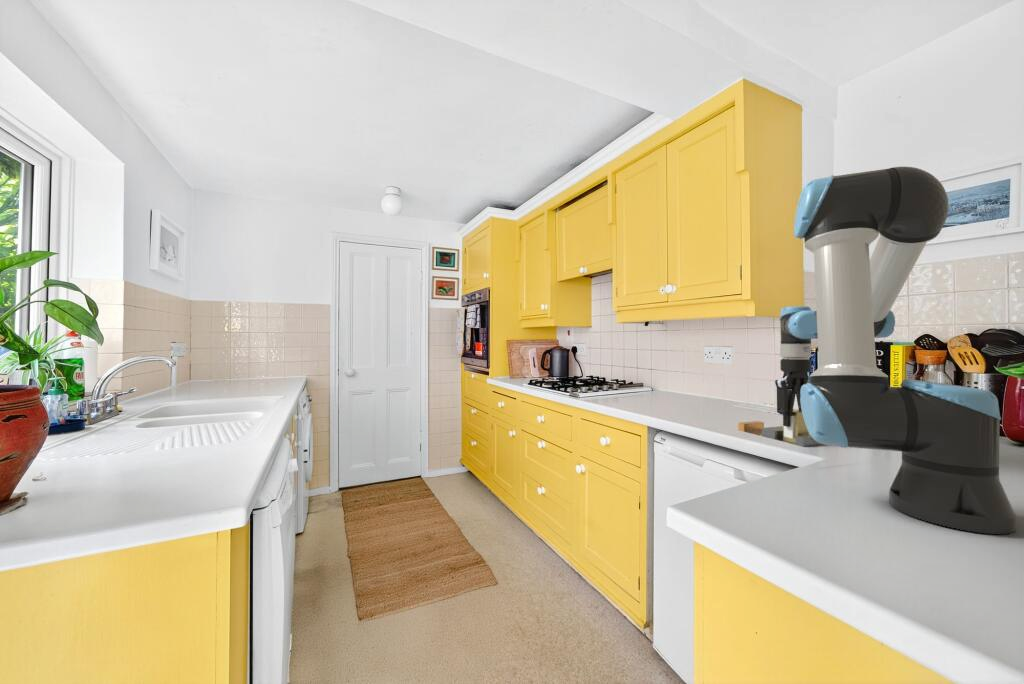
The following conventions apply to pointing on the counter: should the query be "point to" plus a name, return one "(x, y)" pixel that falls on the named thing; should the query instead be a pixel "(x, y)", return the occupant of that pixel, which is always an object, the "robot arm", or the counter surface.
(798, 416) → the brass block
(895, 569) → the counter surface
